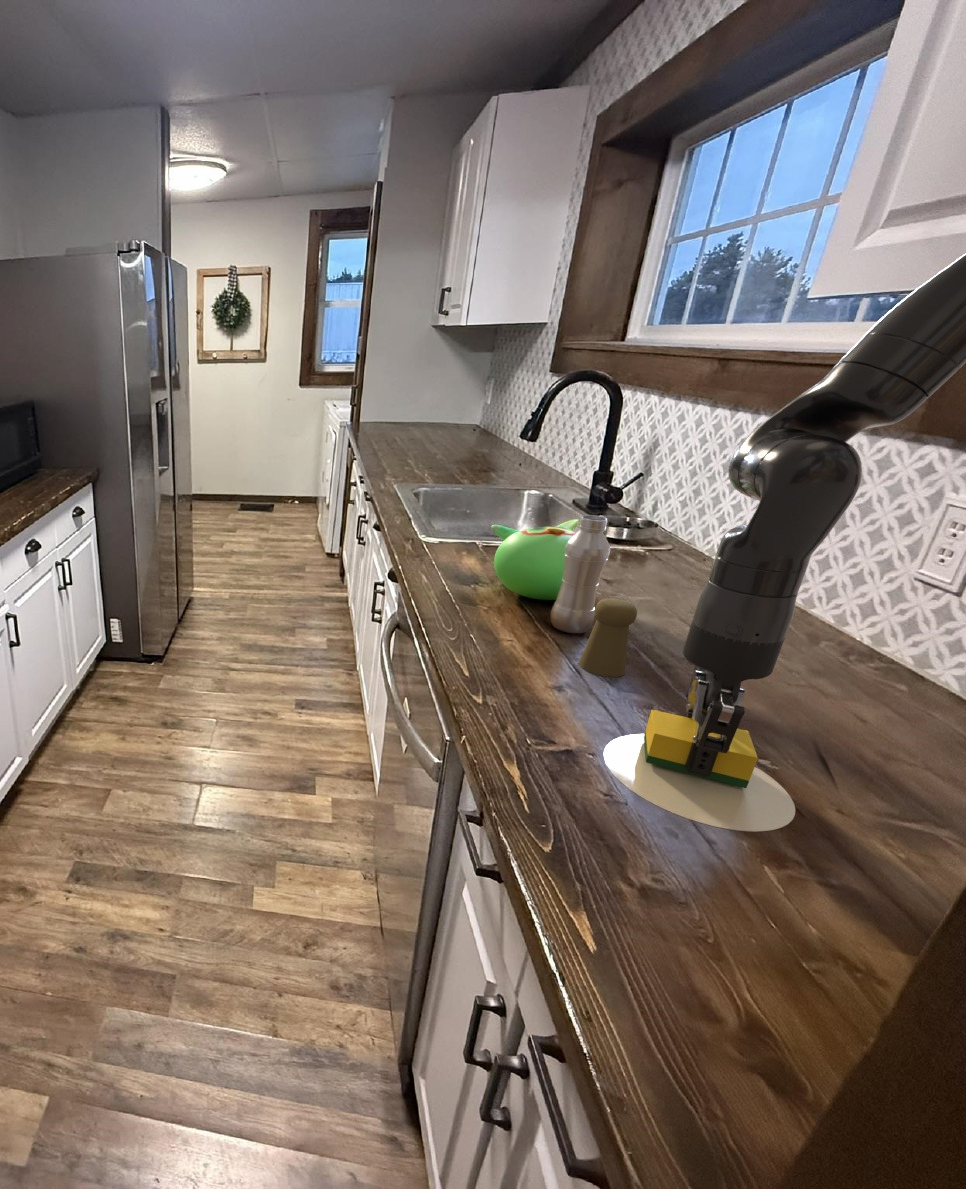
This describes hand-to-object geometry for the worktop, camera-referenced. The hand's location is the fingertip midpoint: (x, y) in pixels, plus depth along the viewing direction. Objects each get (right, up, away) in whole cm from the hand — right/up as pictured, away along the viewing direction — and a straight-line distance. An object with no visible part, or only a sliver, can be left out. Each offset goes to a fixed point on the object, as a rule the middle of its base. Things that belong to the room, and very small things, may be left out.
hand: (693, 756), depth 73 cm
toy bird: (+12, +18, +52) cm, 56 cm away
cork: (+6, +7, +24) cm, 26 cm away
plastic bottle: (+9, +12, +37) cm, 40 cm away
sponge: (0, -1, 0) cm, 1 cm away
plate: (-2, -3, -1) cm, 3 cm away
